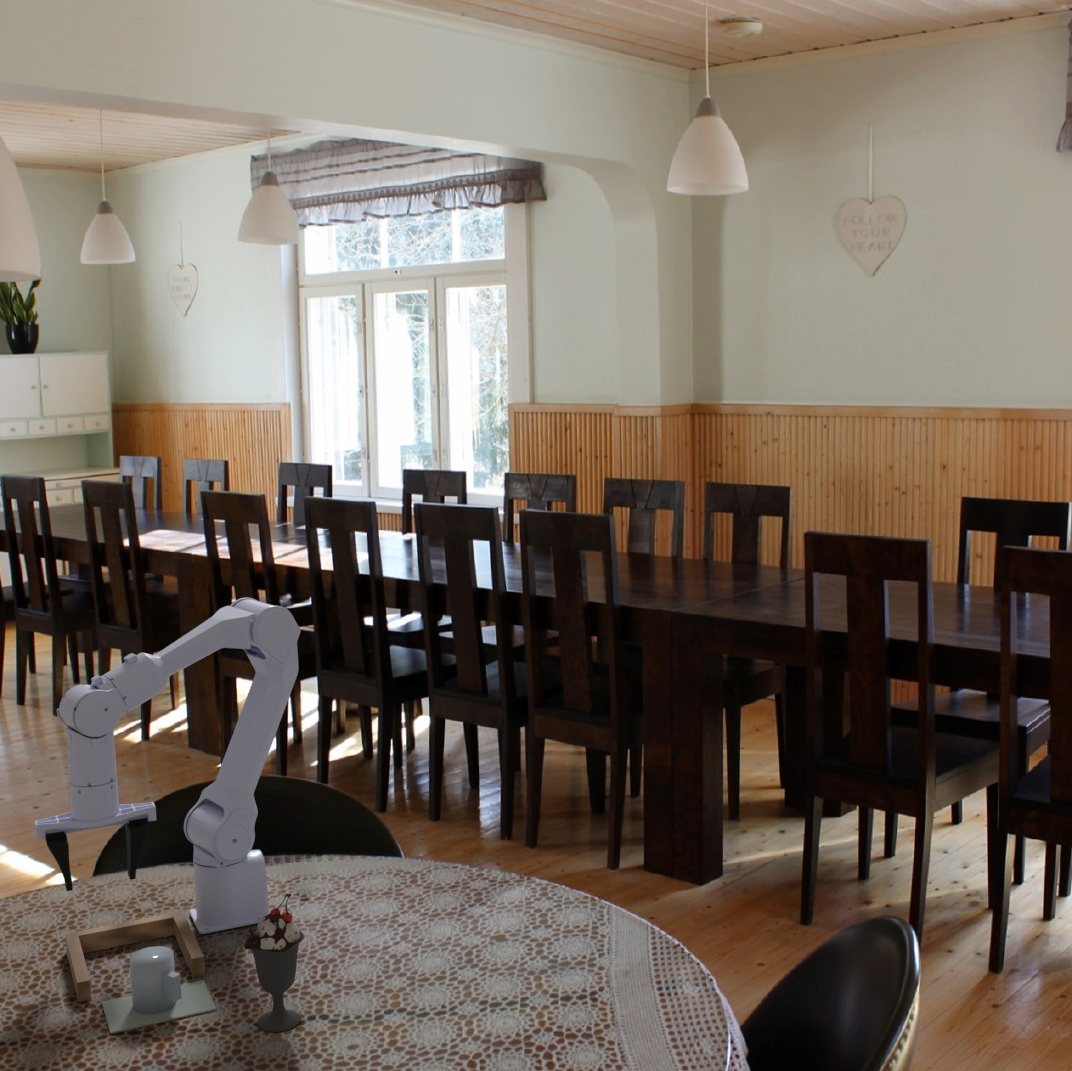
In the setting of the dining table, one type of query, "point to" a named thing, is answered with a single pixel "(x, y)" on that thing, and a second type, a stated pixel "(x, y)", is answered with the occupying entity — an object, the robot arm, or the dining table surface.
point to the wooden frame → (129, 935)
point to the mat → (190, 1004)
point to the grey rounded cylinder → (154, 980)
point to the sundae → (276, 964)
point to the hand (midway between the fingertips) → (100, 882)
